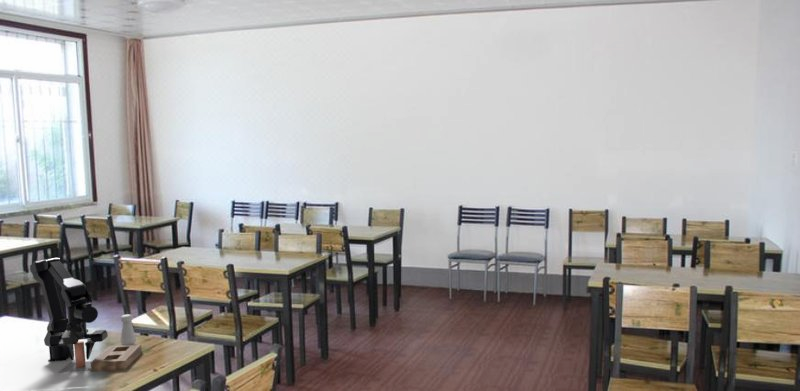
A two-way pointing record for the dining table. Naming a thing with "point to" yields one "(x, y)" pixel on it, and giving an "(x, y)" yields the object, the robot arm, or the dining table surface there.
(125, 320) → the salt shaker
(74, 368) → the mat
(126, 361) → the socket block
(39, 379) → the dining table surface
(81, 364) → the peg
